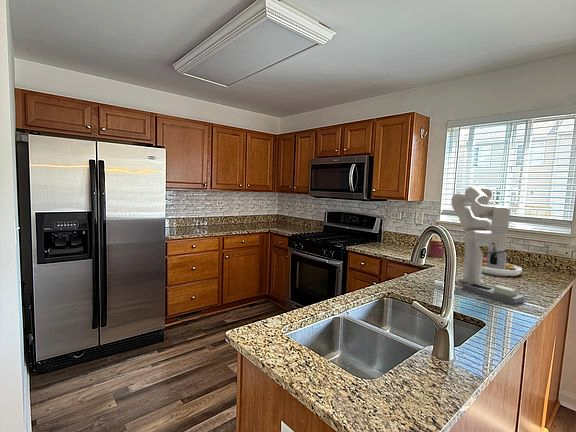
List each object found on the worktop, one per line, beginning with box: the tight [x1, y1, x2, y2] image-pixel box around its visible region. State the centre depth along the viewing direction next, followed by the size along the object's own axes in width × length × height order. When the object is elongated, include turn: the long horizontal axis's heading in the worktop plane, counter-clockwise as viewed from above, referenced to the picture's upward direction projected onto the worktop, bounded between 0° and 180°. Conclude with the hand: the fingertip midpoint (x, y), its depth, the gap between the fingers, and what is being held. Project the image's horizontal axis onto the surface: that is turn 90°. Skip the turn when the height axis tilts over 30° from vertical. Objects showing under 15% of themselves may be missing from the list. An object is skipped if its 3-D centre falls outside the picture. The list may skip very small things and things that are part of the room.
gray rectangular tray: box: [462, 283, 526, 306], centre depth 166 cm, size 10×26×3 cm, turn 29°
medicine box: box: [486, 250, 508, 270], centre depth 167 cm, size 8×4×9 cm, turn 46°
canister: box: [427, 235, 445, 258], centre depth 270 cm, size 13×13×18 cm
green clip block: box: [493, 284, 517, 297], centre depth 160 cm, size 4×8×6 cm, turn 29°
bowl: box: [481, 257, 523, 277], centre depth 220 cm, size 30×30×8 cm
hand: (496, 263), depth 167 cm, fingers closed on medicine box, 5 cm apart
